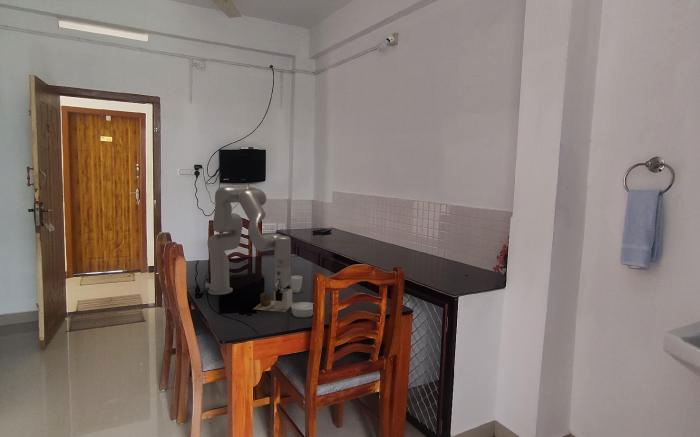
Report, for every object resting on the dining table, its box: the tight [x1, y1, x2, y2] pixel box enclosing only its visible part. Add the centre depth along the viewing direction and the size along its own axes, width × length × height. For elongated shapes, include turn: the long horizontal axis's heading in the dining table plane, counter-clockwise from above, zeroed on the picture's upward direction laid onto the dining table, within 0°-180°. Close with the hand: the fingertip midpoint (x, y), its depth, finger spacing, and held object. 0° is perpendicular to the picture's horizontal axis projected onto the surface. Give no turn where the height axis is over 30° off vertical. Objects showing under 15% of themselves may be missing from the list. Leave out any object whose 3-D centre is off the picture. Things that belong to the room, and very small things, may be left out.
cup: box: [290, 275, 303, 294], centre depth 233 cm, size 7×10×8 cm
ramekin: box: [290, 301, 314, 318], centre depth 195 cm, size 11×11×5 cm
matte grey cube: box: [273, 288, 293, 310], centre depth 204 cm, size 7×7×8 cm
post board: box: [252, 292, 296, 313], centre depth 205 cm, size 16×14×7 cm
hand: (282, 297), depth 204 cm, fingers open, 9 cm apart
